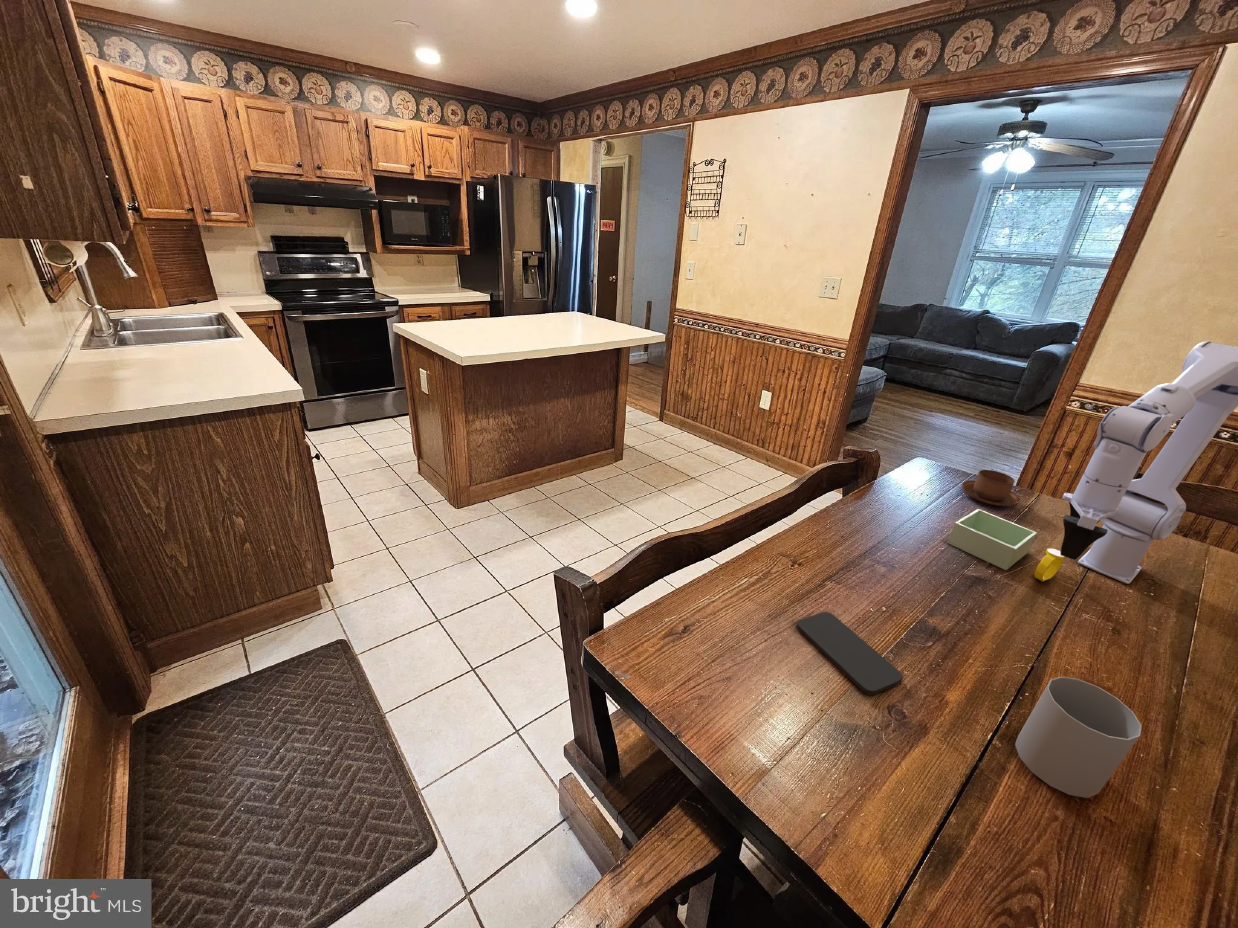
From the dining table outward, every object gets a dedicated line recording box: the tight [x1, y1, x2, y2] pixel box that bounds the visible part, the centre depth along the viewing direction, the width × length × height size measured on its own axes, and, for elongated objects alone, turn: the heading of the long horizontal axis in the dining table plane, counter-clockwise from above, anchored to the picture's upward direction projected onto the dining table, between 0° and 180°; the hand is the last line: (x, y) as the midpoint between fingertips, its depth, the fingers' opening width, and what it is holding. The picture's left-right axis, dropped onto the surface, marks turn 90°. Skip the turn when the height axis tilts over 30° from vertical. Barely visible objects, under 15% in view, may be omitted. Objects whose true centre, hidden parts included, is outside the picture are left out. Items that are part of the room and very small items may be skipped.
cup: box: [1014, 676, 1142, 799], centre depth 61 cm, size 8×8×10 cm
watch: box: [1033, 547, 1066, 582], centre depth 96 cm, size 6×3×6 cm, turn 117°
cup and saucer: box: [961, 469, 1021, 507], centre depth 125 cm, size 12×12×6 cm
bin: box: [946, 508, 1038, 571], centre depth 105 cm, size 11×11×5 cm
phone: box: [796, 611, 904, 696], centre depth 78 cm, size 7×1×15 cm
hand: (1070, 548), depth 90 cm, fingers open, 7 cm apart
